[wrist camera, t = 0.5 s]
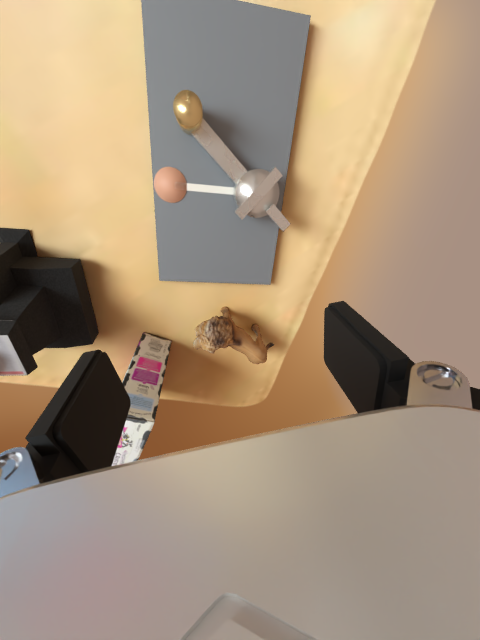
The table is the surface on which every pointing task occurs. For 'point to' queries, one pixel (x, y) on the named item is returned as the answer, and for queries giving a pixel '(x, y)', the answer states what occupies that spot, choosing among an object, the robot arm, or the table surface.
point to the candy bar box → (142, 395)
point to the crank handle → (232, 164)
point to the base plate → (219, 129)
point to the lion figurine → (230, 338)
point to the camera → (39, 303)
